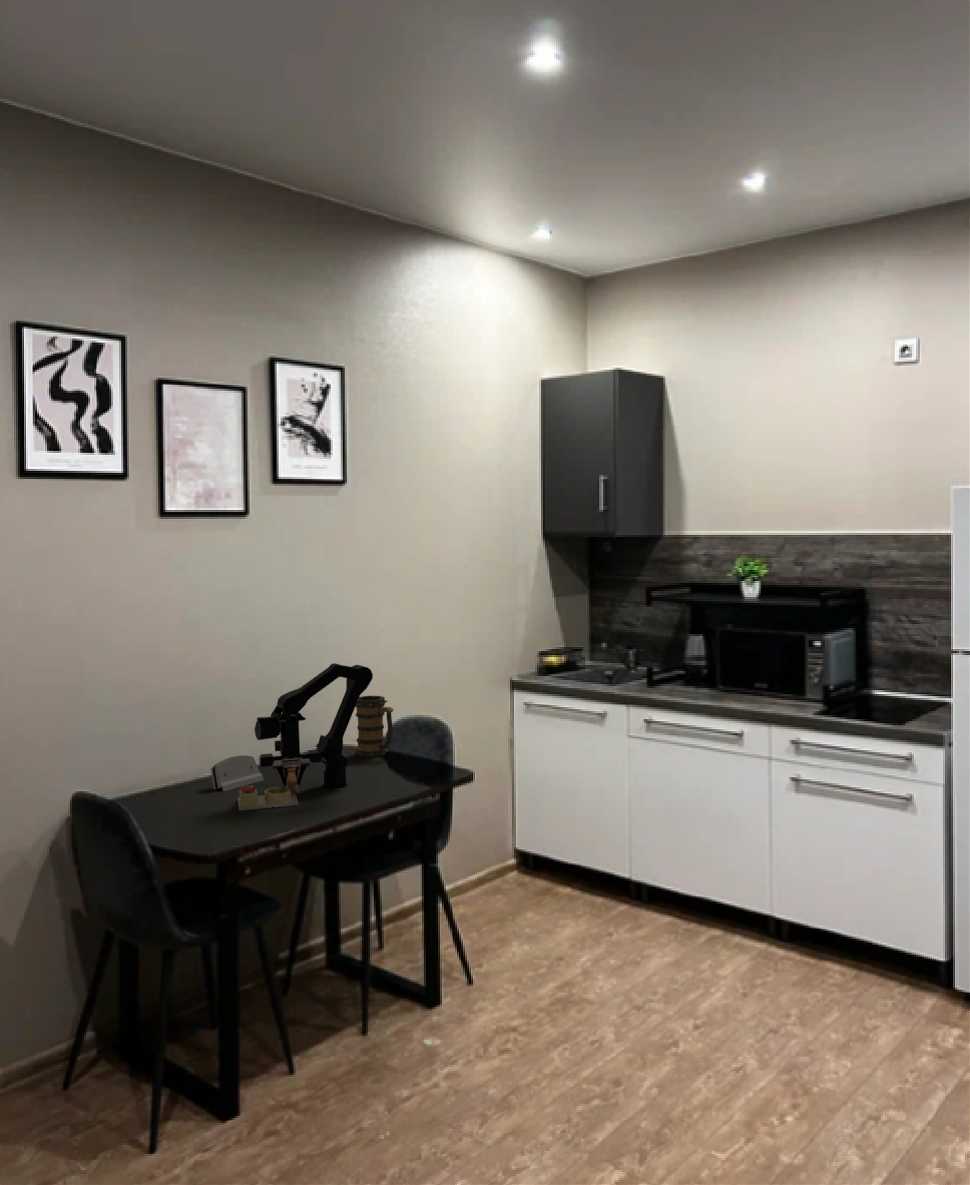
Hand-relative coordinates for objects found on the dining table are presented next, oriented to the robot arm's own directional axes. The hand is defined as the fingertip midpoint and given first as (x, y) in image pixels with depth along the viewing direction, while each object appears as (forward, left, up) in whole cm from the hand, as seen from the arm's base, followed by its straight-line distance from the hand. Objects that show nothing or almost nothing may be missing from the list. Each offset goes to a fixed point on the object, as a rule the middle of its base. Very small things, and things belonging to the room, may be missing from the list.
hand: (291, 785), depth 319 cm
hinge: (+16, -16, -2) cm, 23 cm away
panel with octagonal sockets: (+8, +10, -2) cm, 13 cm away
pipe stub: (0, 0, -2) cm, 2 cm away
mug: (-33, -41, -2) cm, 53 cm away
